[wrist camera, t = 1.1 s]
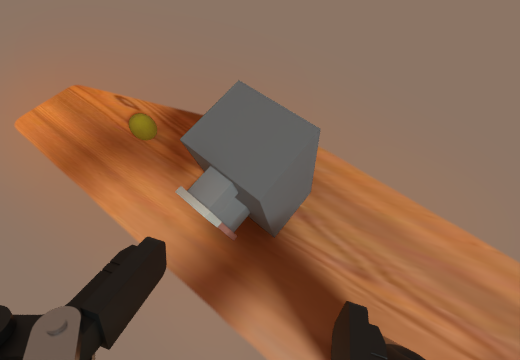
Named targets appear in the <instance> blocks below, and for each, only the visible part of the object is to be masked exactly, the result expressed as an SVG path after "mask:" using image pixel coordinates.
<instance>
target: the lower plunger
mask: <svg viewBox="0 0 520 360" xmlns="http://www.w3.org/2000/svg"><path fill="white" fill-rule="evenodd" d="M249 214H250V211H249V210H248V208H247V207H246V206H245V205H243V204H242V203H241V202H240V201H238V200H237V199H236V198H235V197H234V198H233V200H232V201H231V202H230V203H229V204H228V205H227V206H226V208H225V209H224V210H223V211H222V212H221V213H220V214H219V216H218V217H217V218H218V219H219V220H220V221H221V222H222V223H221V224H220V225H219V226H218V228H219V229H220V230H222V231H223V232H224V233H225V234H226V235H227V236H229V237H230V238H231V239H232V240H235V239H236V237H237V235H236V234H235V233H234V232H235V231H236V229H237V228H238V227H239V226H240V225H241V223H242V222H243V221H244V220H245V219H246V218H247V216H248V215H249Z"/></svg>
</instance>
